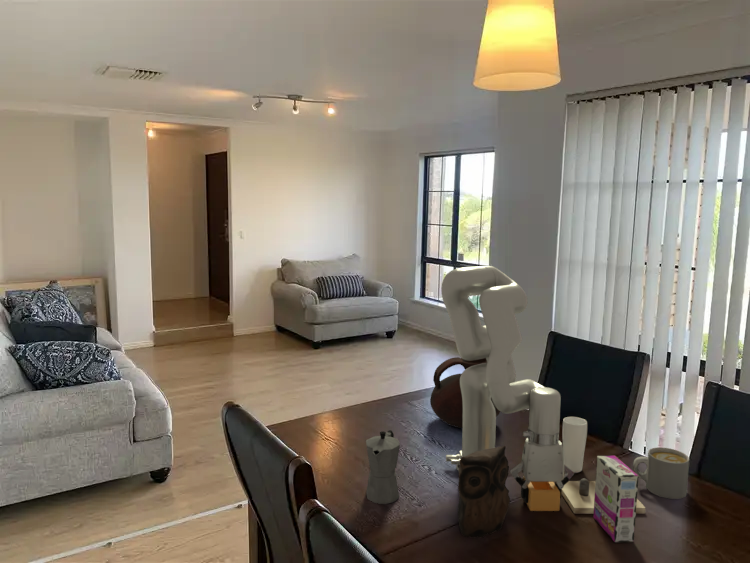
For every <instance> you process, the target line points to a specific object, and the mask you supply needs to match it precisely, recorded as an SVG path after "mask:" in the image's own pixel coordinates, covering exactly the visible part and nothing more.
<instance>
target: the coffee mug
mask: <svg viewBox="0 0 750 563" xmlns="http://www.w3.org/2000/svg"><path fill="white" fill-rule="evenodd" d="M647 452H648V453H647V456H638V457H635V459H634V460H633V463H632V471H634V472H635V473H636V474H637V475H638V476H639V477H638V479H639V478H640V479H642V480H643V481H644V482H645V487H646V489H647V490H648V491H649V492H650V493H652V494H654V495H656V496H659V497H660V498H665V499H669V500H671V499H672V500H679V499H684V498H685V497H686V496H687V492H688V480H689V479H688V478H689V467H690V457H689V456H688V455H687V454H686V453H684V452H682V451H679V450H678V449H675V448H674V449H673V448H669V447H658V446H657V447H652V448H650V449H649V450H648V451H647ZM640 464H644V465H646V468H645V471H643V472H642V471H639V465H640Z"/></svg>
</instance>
